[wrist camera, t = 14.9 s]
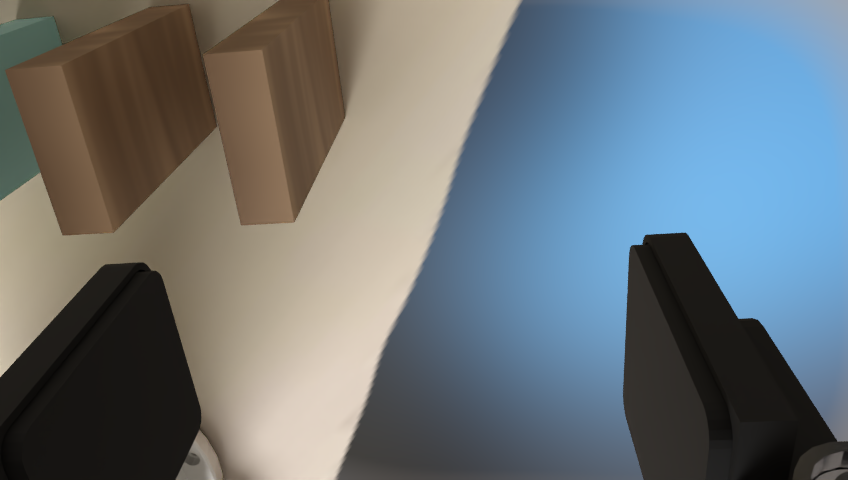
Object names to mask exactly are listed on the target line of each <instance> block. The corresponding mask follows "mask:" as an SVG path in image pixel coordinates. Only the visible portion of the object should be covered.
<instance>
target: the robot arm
mask: <svg viewBox="0 0 848 480" xmlns="http://www.w3.org/2000/svg"><path fill="white" fill-rule="evenodd" d="M626 319H627V320H626V340H625V363H624V364H625V365H624V385H623V399H624V410H625V415H626V420H627V423H628V426H629V430H630V433H631V437H632V440H633V444H634V447H635V451H636V454H637V457H638V461H639V465H640V468H641V472H642V475H643V478H644V480H848V441H839V442H838V441H837V440H836V439H835V437H834V435H833V434H832V432H831V431H830V429H829V427H828V426H827V424H826V423H825V421H824V420H823V418H822V417H821V415H820V413H819V412H818V410H817V409H816V407H815V406H814V404H813V403H812V401H811V400H810V398H809V396H808V395H807V393H806V392H805V390H804V389H803V387H802V386H801V384H800V382H799V381H798V379H797V378H796V376H795V375H794V373H793V372H792V370H791V369H790V367H789V366H788V364H787V362H786V361H785V359H784V358H783V356H782V355H781V353H780V352H779V350H778V348H777V347H776V346H775V344H774V342H773V341H772V339H771V337H770V336H769V334H768V333H767V331H766V330H765V328H764V327H763V325H762V324H761V323H760V322H759V321H758V320H756V319H753V318H748V319H738V318H737V316H736V314H735V313H734V311H733V309H732V308H731V306H730V304H729V303H728V301H727V299H726V298H725V296H724V294H723V292H722V291H721V289H720V287H719V286H718V284H717V282H716V281H715V279H714V278H713V276H712V274H711V272H710V271H709V269H708V267H707V266H706V264H705V262H704V261H703V259H702V258H701V256H700V254H699V252H698V251H697V249H696V248H695V246H694V244H693V243H692V241H691V239H690V238H689V236H688V235H687V234H686V233H671V234H654V235H645V237H644V240H643V245H632V246H631V247H630V252H629V272H628V294H627V318H626ZM200 424H201V409H200V405H199V401H198V398H197V394H196V391H195V388H194V384H193V381H192V377H191V374H190V371H189V367H188V364H187V360H186V357H185V354H184V350H183V347H182V343H181V340H180V337H179V333H178V330H177V326H176V323H175V320H174V316H173V313H172V309H171V306H170V303H169V299H168V296H167V292H166V289H165V286H164V282H163V279H162V277H161V275H160V274H159V273H158V272H157V271H151V270H150V268H149V267H148V266H147V265H146V264H145V263H124V264H107V265H104V266H103V267H101V268H100V269H99V270H98V272H97V273H96V274H95V275H94V276H93V277H92V278H91V279H90V280H89V281H88V282H87V284H86V285H85V286H84V287H83V288H82V289H81V290H80V291H79V292H78V293H77V294H76V296H75V297H74V298H73V299H72V300H71V301H70V302H69V303H68V304H67V305H66V306H65V307H64V309H63V310H62V311H61V312H60V313H59V314H58V315H57V316H56V317H55V318H54V319H53V321H52V322H51V323H50V324H49V325H48V326H47V327H46V328H45V329H44V330H43V331H42V333H41V334H40V335H39V336H38V337H37V338H36V339H35V340H34V341H33V342H32V343H31V345H30V346H29V347H28V348H27V349H26V350H25V351H24V352H23V353H22V354H21V355H20V357H19V358H18V359H17V360H16V361H15V362H14V363H13V364H12V365H11V366H10V367H9V369H8V370H7V371H6V372H5V373H4V374H3V375H2V376H1V377H0V480H223V473H222V470H221V466H220V463H219V460H218V457H217V455H216V453H215V451H214V450H213V448H212V446H211V444H210V443H209V441H208V439H207V438H206V437H205V436H204V435H203V433H202V432H201V431H200V430H199V429H200Z"/></svg>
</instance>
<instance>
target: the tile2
mask: <svg viewBox="0 0 848 480" xmlns="http://www.w3.org/2000/svg"><path fill="white" fill-rule="evenodd" d="M5 72H6V75H7V78H8V81H9V84H10V86H11V89H12V92H13V95H14V98H15V101H16V104H17V106H18V109H19V112H20V115H21V118H22V121H23V124H24V126H25V129H26V132H27V135H28V138H29V141H30V143H31V146H32V149H33V152H34V155H35V158H36V161H37V163H38V166H39V169H40V172H41V175H42V178H43V180H44V183H45V186H46V189H47V192H48V195H49V198H50V200H51V203H52V206H53V209H54V212H55V215H56V218H57V220H58V223H59V226H60V229H61V232H62V235H79V234H97V233H114V232H115V231H116V230H117V229H118V228H119V227H120V226H121V225H122V224H123V223H124V221H125V220H126V219H127V218H128V217H129V216H130V215H131V214H132V213H133V212H134V211H135V210H136V209H137V208H138V207H139V206H140V205H141V204H142V203H143V202H144V201H145V200H146V199H147V198H148V197H149V196H150V195H151V194H152V193H153V192H154V191H155V190H156V189H157V188H158V187H159V186H160V184H161V183H162V182H163V181H164V180H165V179H166V178H167V177H168V176H169V175H170V174H171V173H172V172H173V171H174V170H175V169H176V168H177V167H178V166H179V165H180V164H181V163H182V162H183V161H184V160H185V159H186V158H187V157H188V156H189V155H190V154H191V153H192V152H193V151H194V150H195V149H196V148H197V146H198V145H199V144H200V143H201V142H202V141H203V140H204V139H205V138H206V137H207V136H208V135H209V134H210V133H211V132H212V131H213V130H214V129H215V128H216V127H217V126H216V121H215V117H214V113H213V108H212V104H211V99H210V95H209V91H208V86H207V82H206V77H205V73H204V68H203V64H202V60H201V55H200V51H199V46H198V42H197V38H196V33H195V29H194V24H193V20H192V15H191V11H190V7H189V4H183V5H171V6H159V7H149V8H147V9H144V10H142V11H140V12H138V13H135V14H133V15H131V16H128V17H126V18H124V19H121V20H119V21H117V22H114V23H112V24H110V25H108V26H105V27H103V28H101V29H98V30H96V31H94V32H91V33H89V34H87V35H84V36H82V37H80V38H77V39H75V40H73V41H71V42H68V43H66V44H64V45H61V46H59V47H57V48H54V49H52V50H50V51H47V52H45V53H43V54H41V55H38V56H36V57H34V58H31V59H29V60H27V61H24V62H22V63H20V64H17V65H15V66H13V67H10V68H8V69H6V70H5Z"/></svg>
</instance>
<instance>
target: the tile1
mask: <svg viewBox="0 0 848 480" xmlns="http://www.w3.org/2000/svg"><path fill="white" fill-rule="evenodd" d="M203 59H204V63H205V67H206V72H207V76H208V81H209V85H210V90H211V94H212V98H213V103H214V107H215V112H216V116H217V121H218V125H219V130H220V134H221V138H222V143H223V147H224V152H225V156H226V161H227V165H228V170H229V174H230V178H231V183H232V187H233V192H234V196H235V201H236V205H237V209H238V214H239V218H240V223H241V225H256V224H273V223H290V222H295V220H296V218H297V216H298V214H299V212H300V210H301V208H302V206H303V204H304V201H305V199H306V197H307V195H308V193H309V191H310V189H311V187H312V185H313V183H314V181H315V179H316V177H317V175H318V173H319V171H320V169H321V166H322V164H323V162H324V160H325V158H326V156H327V154H328V152H329V150H330V148H331V146H332V144H333V142H334V140H335V138H336V136H337V134H338V132H339V129H340V127H341V125H342V123H343V121H344V119H345V113H344V106H343V99H342V92H341V84H340V77H339V70H338V63H337V56H336V49H335V42H334V35H333V28H332V21H331V14H330V7H329V0H280V1H278V2H277V3H275V4H274V5H272V6H271V7H270V8H268V9H267V10H265V11H264V12H263V13H261V14H260V15H258V16H257V17H255V18H254V19H253V20H251V21H250V22H248V23H247V24H245V25H244V26H243V27H241V28H240V29H238V30H237V31H236V32H234V33H233V34H231V35H230V36H228V37H227V38H226V39H224V40H223V41H221V42H220V43H218V44H217V45H216V46H214V47H213V48H211V49H210V50H208V51H207V52H206V53H204V54H203Z"/></svg>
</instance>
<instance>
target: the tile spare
mask: <svg viewBox="0 0 848 480" xmlns="http://www.w3.org/2000/svg"><path fill="white" fill-rule="evenodd" d="M61 45H62V42H61V39H60V36H59V32H58V29H57V26H56V23H55V20H54V16H52V17H41V18H29V19H18V20H13V21H10V22H7V23H4V24H1V25H0V200H2V199H3V198H5V197H6V196H7V195H9V194H10V193H12V192H13V191H14V190H16V189H17V188H19V187H20V186H22V185H23V184H24V183H26V182H27V181H29V180H30V179H31V178H33V177H34V176H36V175H37V174H38V173H40V169H39V166H38V163H37V161H36V158H35V155H34V152H33V149H32V146H31V143H30V141H29V138H28V135H27V132H26V129H25V126H24V124H23V121H22V118H21V115H20V112H19V109H18V106H17V104H16V101H15V98H14V95H13V92H12V89H11V86H10V84H9V81H8V78H7V75H6V72H5V70H6V69H8V68H10V67H13V66H15V65H17V64H20V63H22V62H24V61H27V60H29V59H31V58H34V57H36V56H38V55H41V54H43V53H45V52H47V51H50V50H52V49H54V48H57V47H59V46H61Z"/></svg>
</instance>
